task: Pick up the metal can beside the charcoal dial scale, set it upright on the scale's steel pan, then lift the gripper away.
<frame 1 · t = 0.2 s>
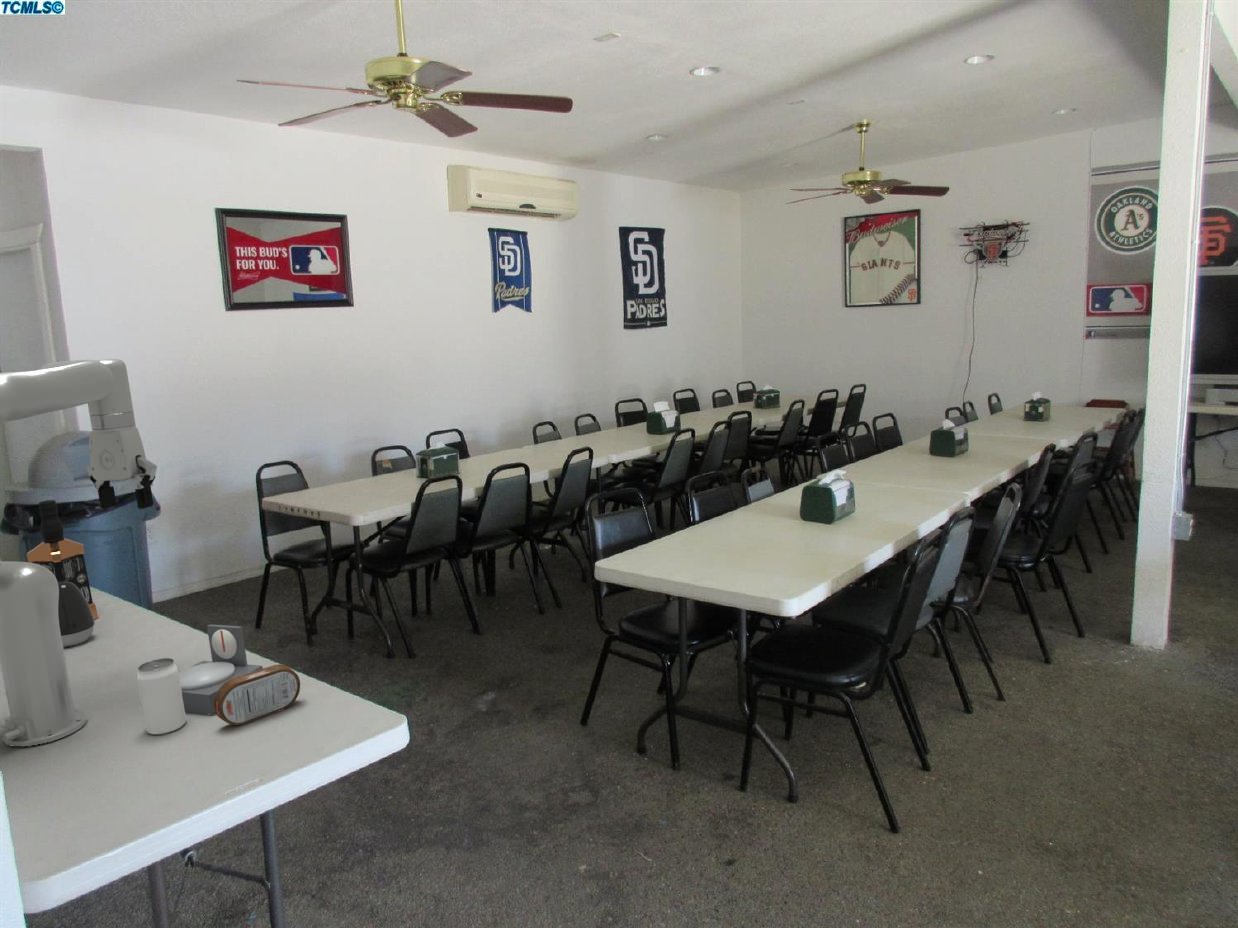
hand: (127, 507, 172), 36 cm above the table, tool pointing down, fingers open, 9 cm apart
whiskey bottle: (68, 624, 219), on the table
tin: (262, 717, 157), on the table
scale: (209, 696, 167), on the table
can: (166, 728, 154), on the table
pump dispenser: (72, 643, 204), on the table
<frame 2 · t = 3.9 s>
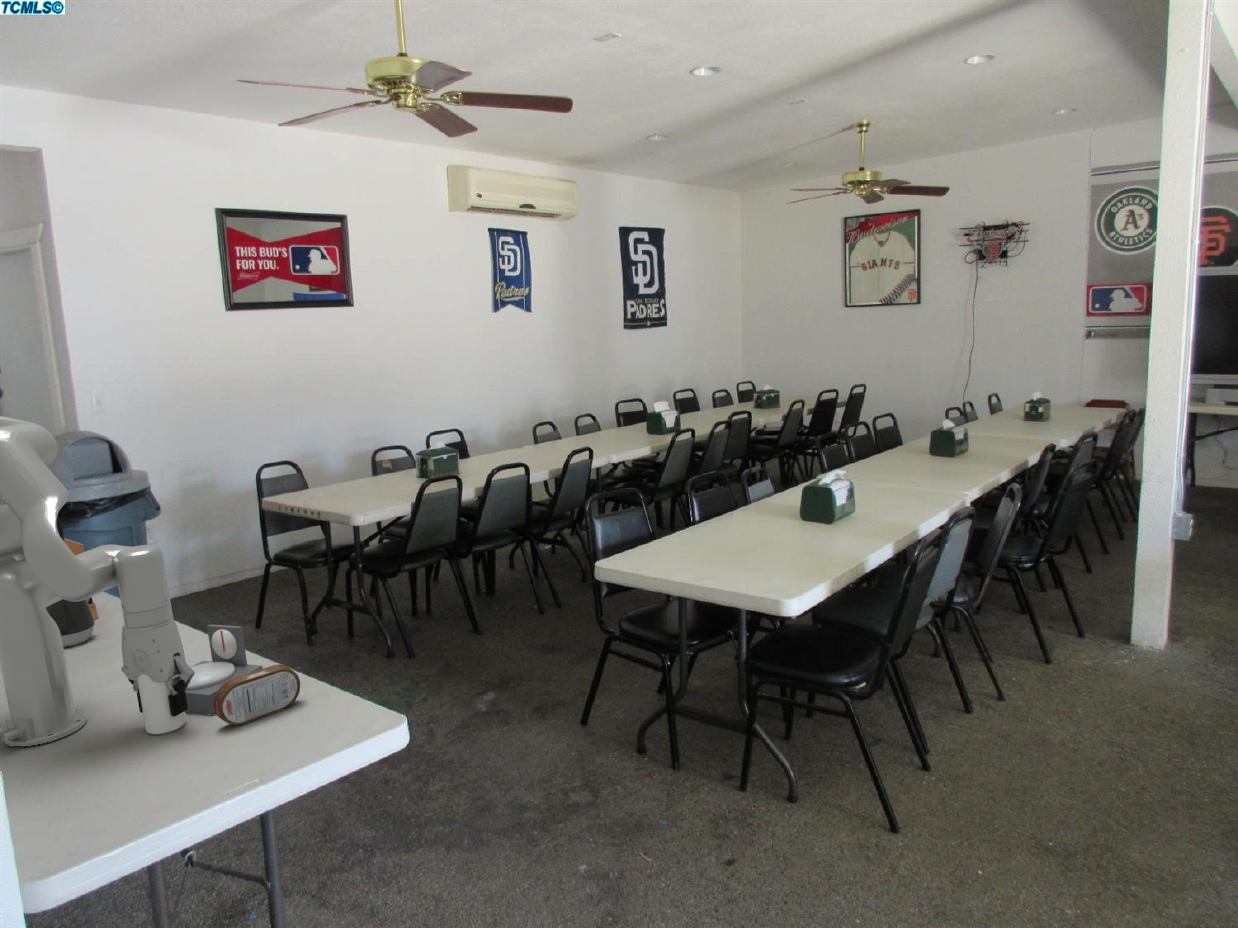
hand: (164, 710, 154), 3 cm above the table, tool pointing down, fingers closed on can, 6 cm apart
can: (166, 728, 154), on the table, touching gripper
everything else where it was.
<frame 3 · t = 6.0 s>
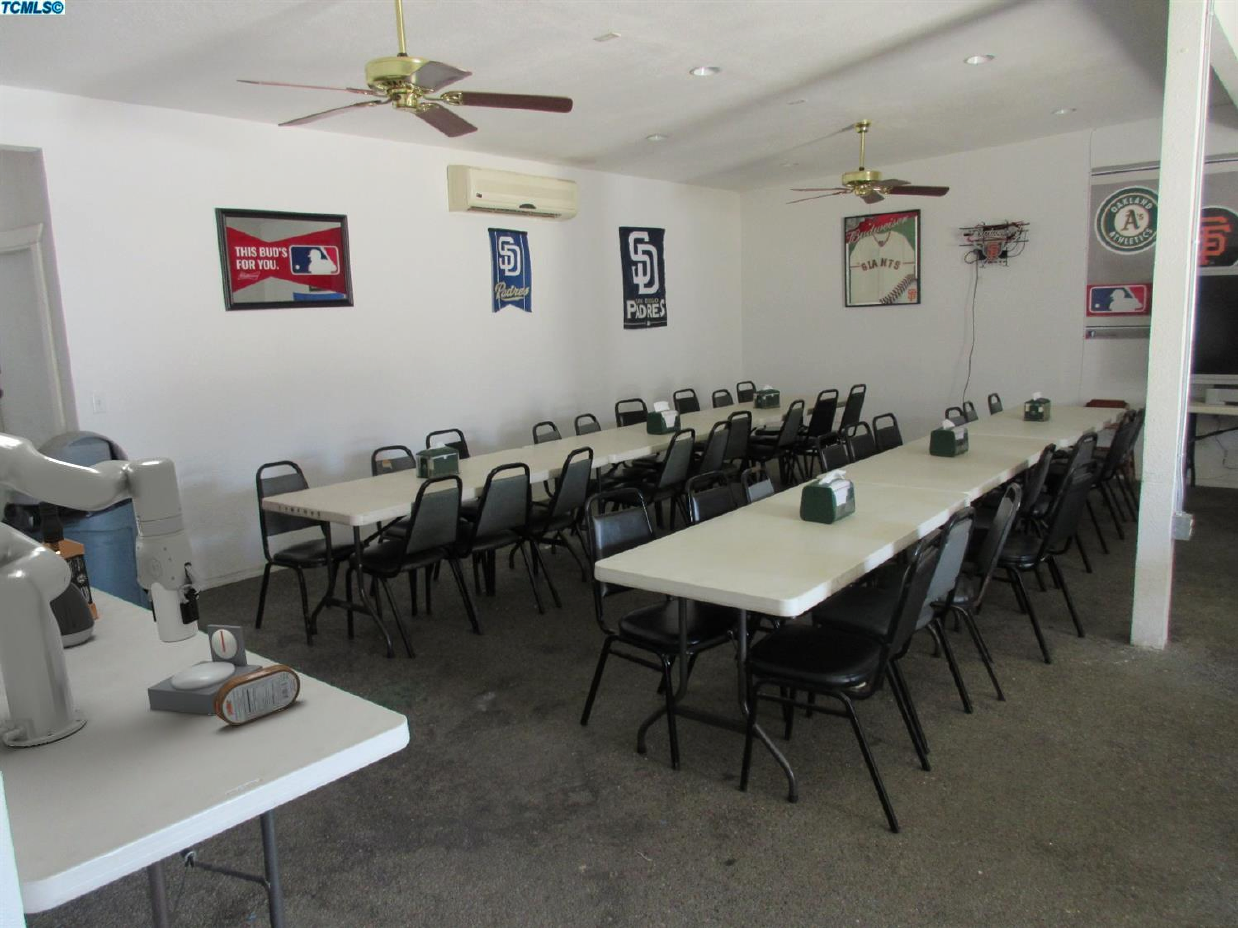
hand: (176, 619, 158), 18 cm above the table, tool pointing down, fingers closed on can, 6 cm apart
can: (179, 637, 159), point 14 cm above the table, touching gripper
everything else where it was.
when the fingers open (10 cm above the table, at t = 8.3 s): can drops 2 cm, resting on scale.
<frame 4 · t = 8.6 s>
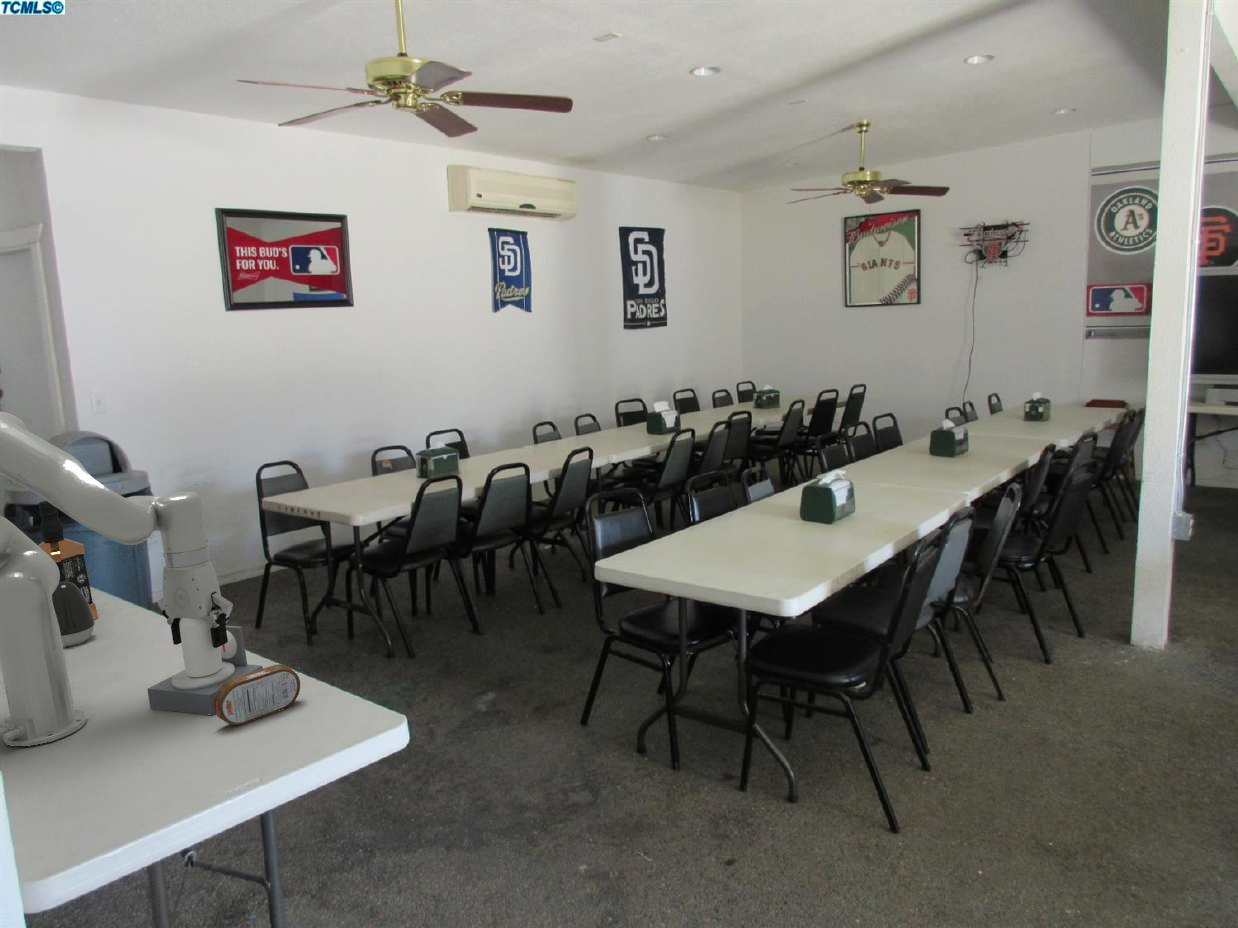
hand: (200, 643, 165), 11 cm above the table, tool pointing down, fingers open, 9 cm apart
can: (204, 672, 166), point 5 cm above the table, touching scale
everything else where it was.
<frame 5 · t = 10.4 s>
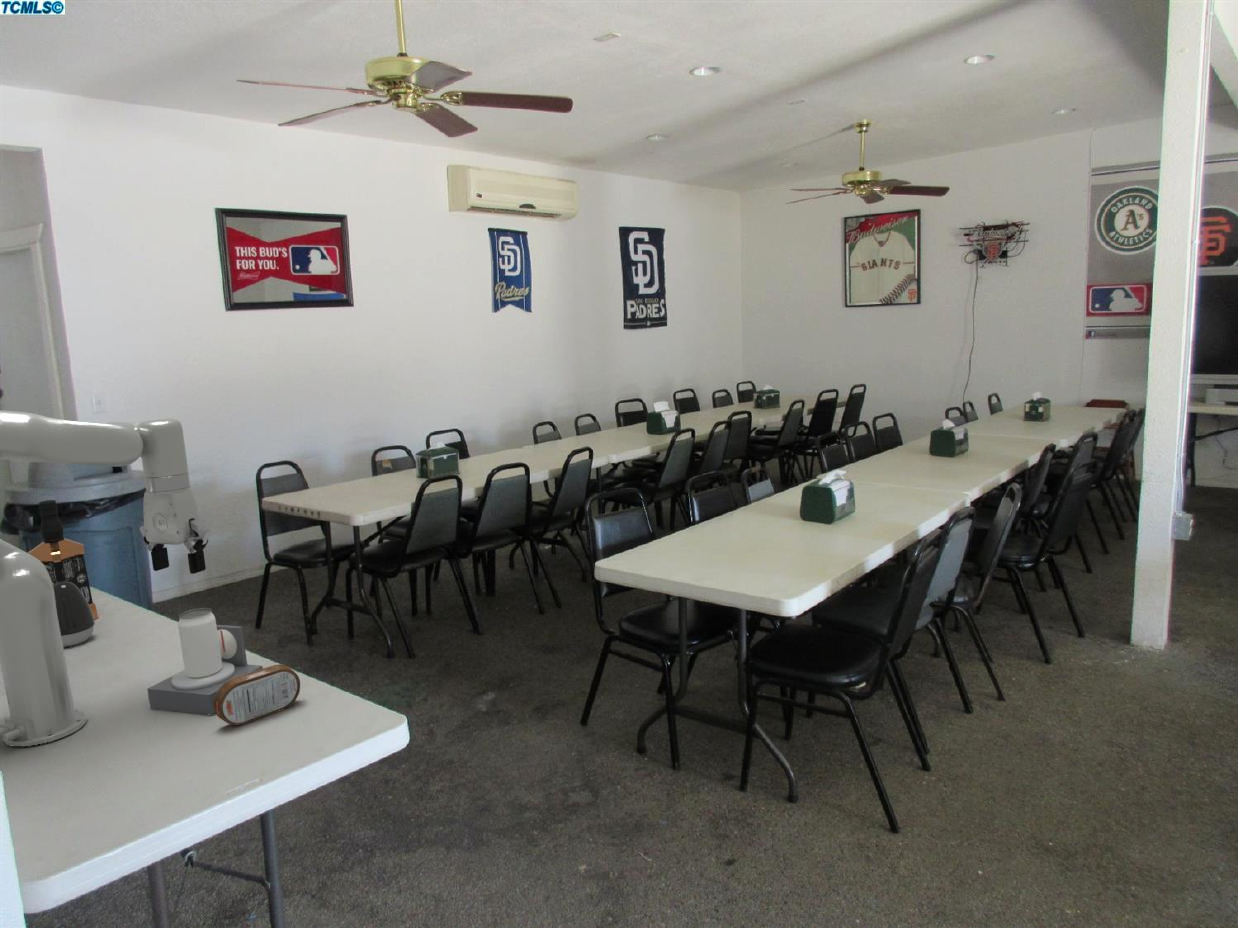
hand: (179, 570, 167), 24 cm above the table, tool pointing down, fingers open, 9 cm apart
nothing on the table moved.
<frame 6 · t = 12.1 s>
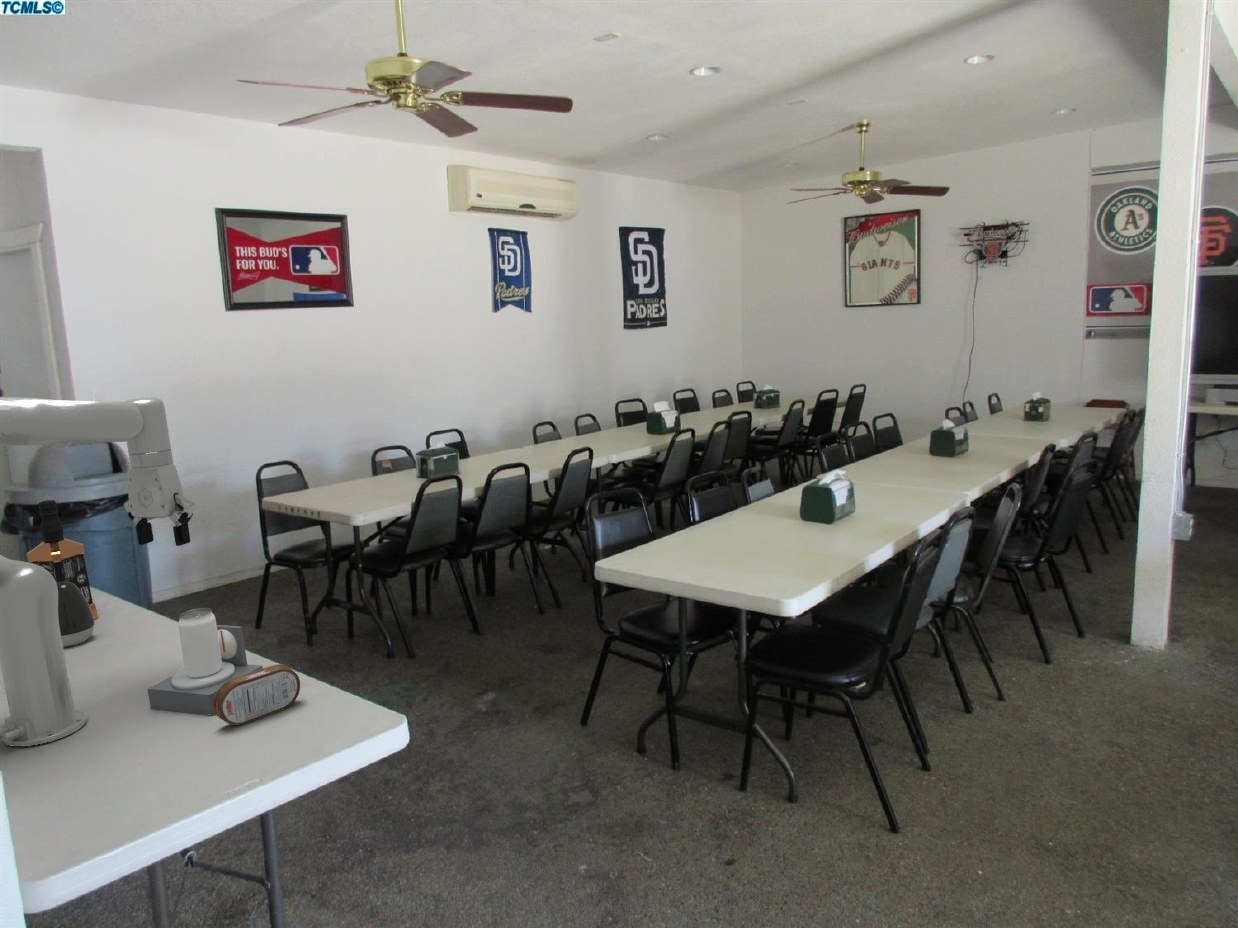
hand: (164, 543, 174), 28 cm above the table, tool pointing down, fingers open, 9 cm apart
nothing on the table moved.
at the end: can inside the target area on the scale (0.4 cm from its centre), point 4.8 cm above the scale's base; can tilted 0°; the gripper is holding nothing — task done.
